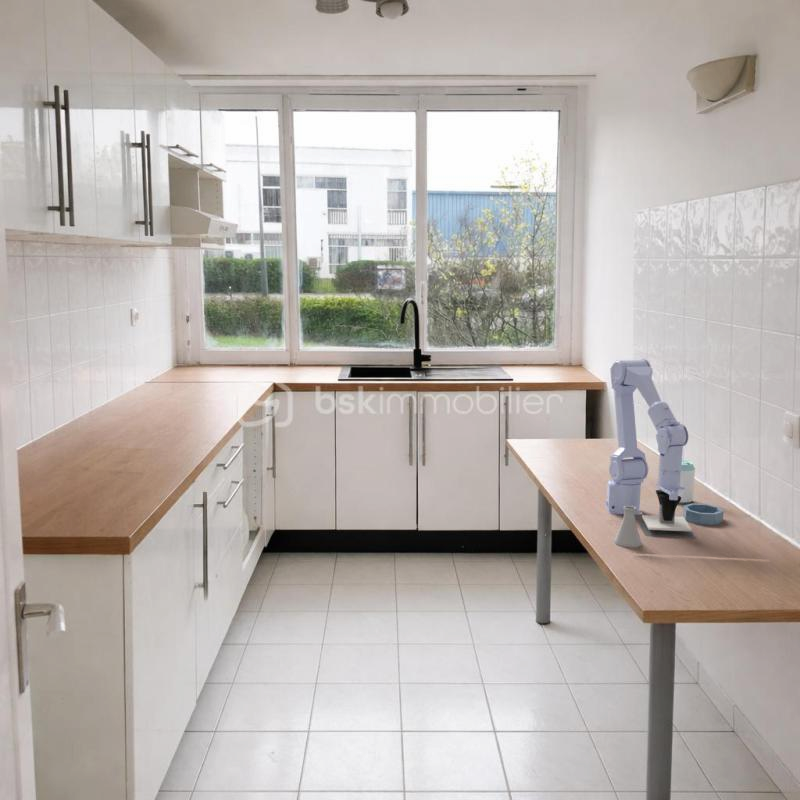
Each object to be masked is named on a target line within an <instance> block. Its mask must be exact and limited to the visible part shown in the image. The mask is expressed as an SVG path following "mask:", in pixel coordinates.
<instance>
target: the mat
mask: <svg viewBox="0 0 800 800" xmlns="http://www.w3.org/2000/svg"><path fill="white" fill-rule="evenodd" d="M637 522H638V526H639V527H640V529H641V530H642V532H643V534H644V536H645V537H660V538H661V537H662V538H682V539H683V538H685V539H696V538H697V537H696V535H695V534H694V533H693V530H692V531H670V530H649V529H648V527H647V525H646V523H645V522H644V520H643V521H642V520H638V521H637Z"/></svg>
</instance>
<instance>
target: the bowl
mask: <svg viewBox="0 0 800 800" xmlns="http://www.w3.org/2000/svg"><path fill="white" fill-rule="evenodd" d="M682 517H684V519H685V520H686V522H689V523H693V524H696V525H706V526H717V525H718V524H721V523H723V522H724V511H723V509H722V508H721V507H719V506H716V505H711V504H709V503H694V502H693V503H691V502H690V503H687V504H685V505H683V507H682Z"/></svg>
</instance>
